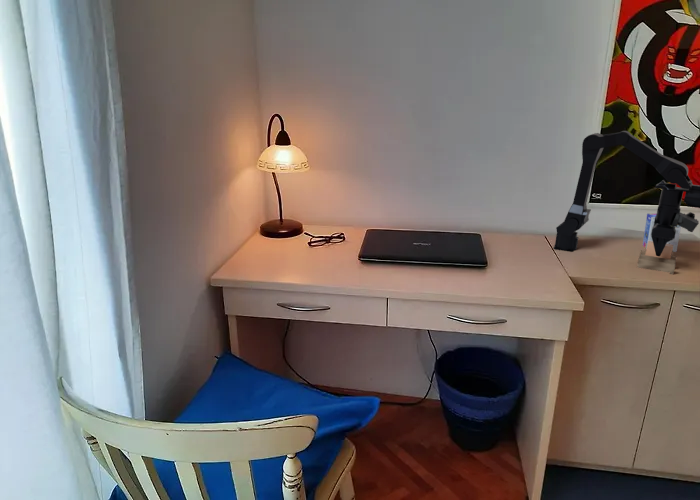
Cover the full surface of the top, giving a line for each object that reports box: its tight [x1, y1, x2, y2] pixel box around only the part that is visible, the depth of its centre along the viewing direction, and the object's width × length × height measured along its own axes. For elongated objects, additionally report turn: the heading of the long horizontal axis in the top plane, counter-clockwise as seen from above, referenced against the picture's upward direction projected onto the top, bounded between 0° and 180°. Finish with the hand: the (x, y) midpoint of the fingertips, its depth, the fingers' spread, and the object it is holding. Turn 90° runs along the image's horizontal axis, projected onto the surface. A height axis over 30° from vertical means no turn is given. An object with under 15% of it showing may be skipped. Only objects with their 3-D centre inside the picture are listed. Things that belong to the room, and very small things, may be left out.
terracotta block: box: [645, 241, 673, 259], centre depth 170 cm, size 7×2×7 cm, turn 58°
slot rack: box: [636, 250, 677, 275], centre depth 169 cm, size 10×10×3 cm
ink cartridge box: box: [642, 213, 682, 253], centre depth 183 cm, size 10×6×14 cm, turn 78°
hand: (658, 252), depth 170 cm, fingers open, 9 cm apart
